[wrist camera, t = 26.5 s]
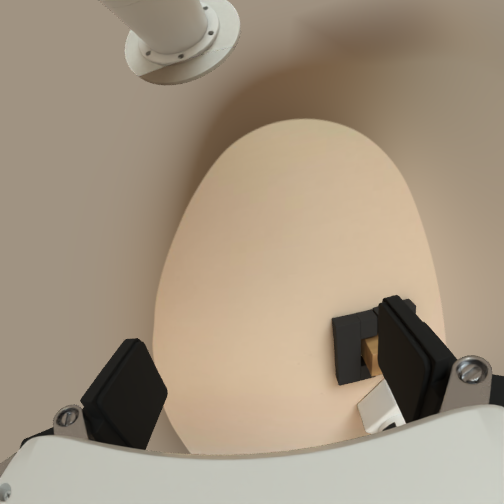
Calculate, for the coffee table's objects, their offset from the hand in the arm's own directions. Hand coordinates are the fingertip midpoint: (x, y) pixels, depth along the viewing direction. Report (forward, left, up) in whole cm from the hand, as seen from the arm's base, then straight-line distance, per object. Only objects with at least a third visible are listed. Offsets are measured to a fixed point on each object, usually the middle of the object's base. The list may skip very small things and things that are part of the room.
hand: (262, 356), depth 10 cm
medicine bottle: (+33, +15, -25) cm, 44 cm away
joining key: (+19, +13, -25) cm, 34 cm away
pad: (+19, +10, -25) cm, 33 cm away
